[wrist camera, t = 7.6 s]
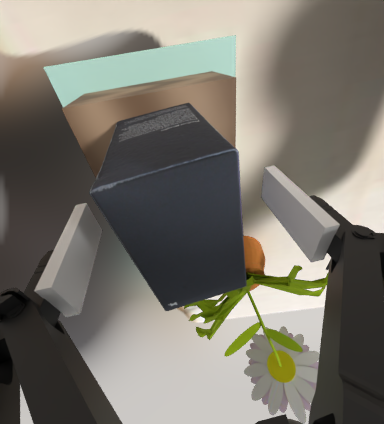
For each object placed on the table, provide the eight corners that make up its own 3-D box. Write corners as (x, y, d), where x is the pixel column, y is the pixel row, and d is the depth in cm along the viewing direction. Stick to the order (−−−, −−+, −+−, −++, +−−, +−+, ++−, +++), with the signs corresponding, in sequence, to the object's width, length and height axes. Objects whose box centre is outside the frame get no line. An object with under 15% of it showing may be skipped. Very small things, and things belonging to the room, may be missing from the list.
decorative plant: (201, 299, 52) (235, 444, 33) (150, 247, 37) (156, 461, 18) (301, 256, 48) (406, 392, 29) (290, 180, 33) (491, 357, 14)
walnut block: (212, 71, 21) (236, 77, 15) (217, 180, 29) (234, 209, 23) (84, 93, 20) (61, 108, 14) (127, 199, 28) (123, 234, 23)
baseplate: (230, 36, 20) (235, 35, 19) (231, 186, 32) (234, 191, 31) (49, 66, 19) (43, 67, 18) (117, 210, 31) (116, 216, 29)
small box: (212, 203, 22) (252, 290, 14) (156, 220, 22) (162, 315, 14) (194, 98, 16) (248, 147, 7) (112, 121, 15) (77, 195, 7)
